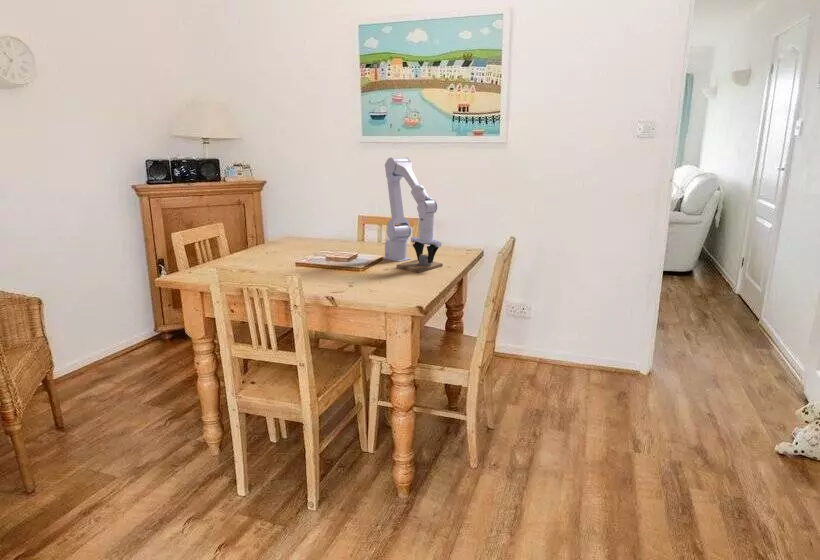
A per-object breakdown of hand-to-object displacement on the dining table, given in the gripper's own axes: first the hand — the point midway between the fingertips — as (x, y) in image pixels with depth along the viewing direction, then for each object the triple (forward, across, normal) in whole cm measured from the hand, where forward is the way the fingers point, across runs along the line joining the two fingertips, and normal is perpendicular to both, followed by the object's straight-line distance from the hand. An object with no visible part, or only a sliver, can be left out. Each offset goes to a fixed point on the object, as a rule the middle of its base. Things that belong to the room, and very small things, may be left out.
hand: (425, 261), depth 235 cm
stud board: (+3, -2, -1) cm, 3 cm away
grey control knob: (+1, 0, 0) cm, 1 cm away
